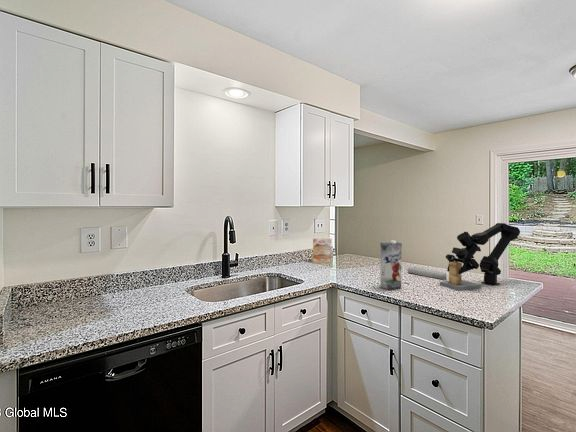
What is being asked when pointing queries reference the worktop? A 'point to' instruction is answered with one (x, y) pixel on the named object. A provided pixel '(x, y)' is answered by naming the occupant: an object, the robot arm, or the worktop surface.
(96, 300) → the worktop surface
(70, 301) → the worktop surface
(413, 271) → the tube
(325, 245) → the coffeecake box
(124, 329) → the worktop surface
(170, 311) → the worktop surface
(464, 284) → the socket board
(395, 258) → the juice carton
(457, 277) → the pin
